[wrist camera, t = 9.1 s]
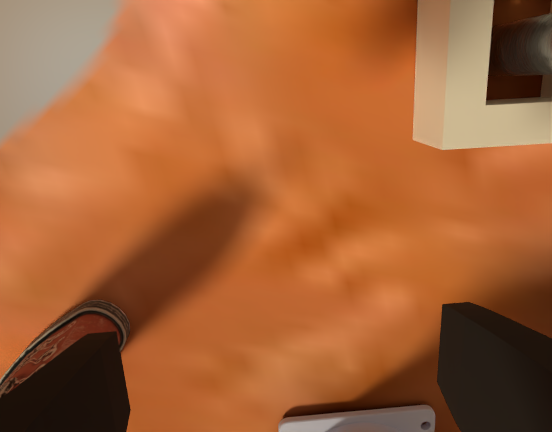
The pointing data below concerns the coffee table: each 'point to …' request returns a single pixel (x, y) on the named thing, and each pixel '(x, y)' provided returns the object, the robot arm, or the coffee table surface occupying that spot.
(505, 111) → the block with square hole
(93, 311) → the lighter
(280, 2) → the coffee table surface
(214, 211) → the coffee table surface
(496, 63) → the metal peg
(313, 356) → the coffee table surface
